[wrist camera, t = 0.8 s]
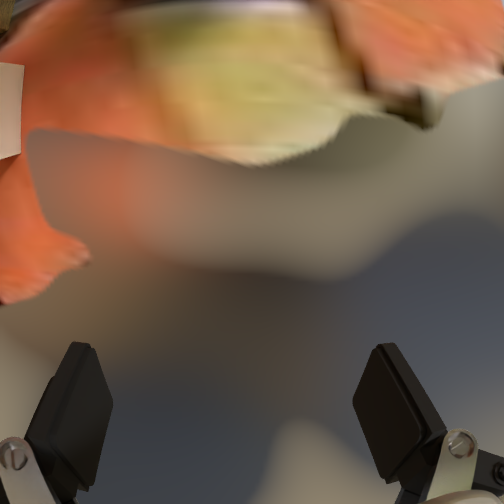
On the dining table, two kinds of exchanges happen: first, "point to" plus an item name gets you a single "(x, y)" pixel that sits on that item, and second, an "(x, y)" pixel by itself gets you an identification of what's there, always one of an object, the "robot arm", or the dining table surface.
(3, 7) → the tan wooden block
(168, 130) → the dining table surface
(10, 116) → the box
